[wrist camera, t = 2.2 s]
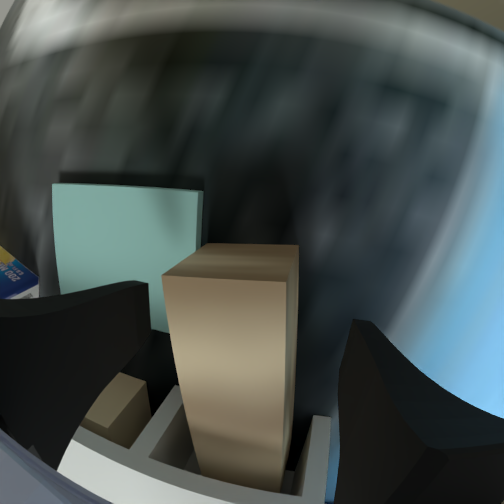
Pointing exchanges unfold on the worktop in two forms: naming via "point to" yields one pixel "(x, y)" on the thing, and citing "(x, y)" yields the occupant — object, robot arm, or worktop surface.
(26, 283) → the beverage box
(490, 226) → the worktop surface
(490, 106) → the worktop surface
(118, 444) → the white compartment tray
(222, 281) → the beech bar
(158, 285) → the teal mat
